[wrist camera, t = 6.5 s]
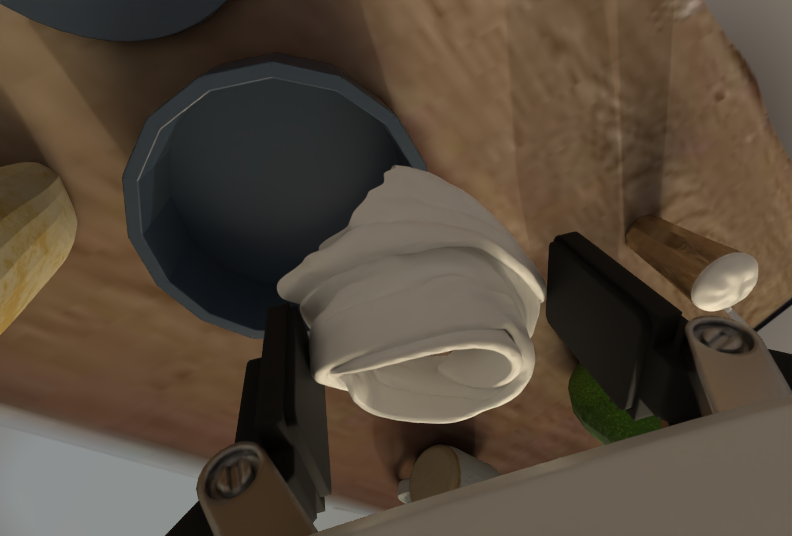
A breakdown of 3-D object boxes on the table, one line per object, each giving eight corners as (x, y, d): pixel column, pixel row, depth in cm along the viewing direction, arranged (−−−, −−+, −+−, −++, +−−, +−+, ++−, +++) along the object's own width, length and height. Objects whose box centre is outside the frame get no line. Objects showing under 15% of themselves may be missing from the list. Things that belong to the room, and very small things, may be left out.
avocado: (627, 324, 41) (735, 425, 31) (617, 379, 45) (709, 483, 35) (551, 345, 40) (635, 455, 30) (548, 398, 44) (621, 510, 34)
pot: (220, 311, 31) (205, 367, 26) (105, 87, 22) (49, 106, 18) (423, 260, 32) (445, 303, 27) (386, 29, 24) (409, 31, 19)
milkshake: (621, 270, 37) (717, 345, 28) (614, 223, 34) (717, 289, 26) (669, 247, 37) (779, 316, 28) (666, 197, 34) (787, 256, 25)
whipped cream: (548, 248, 14) (667, 330, 10) (437, 388, 16) (503, 507, 12) (361, 120, 10) (436, 172, 6) (238, 324, 12) (237, 470, 8)
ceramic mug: (444, 426, 43) (468, 498, 37) (492, 449, 47) (522, 519, 40) (377, 481, 46) (389, 557, 40) (427, 499, 50) (445, 571, 43)
